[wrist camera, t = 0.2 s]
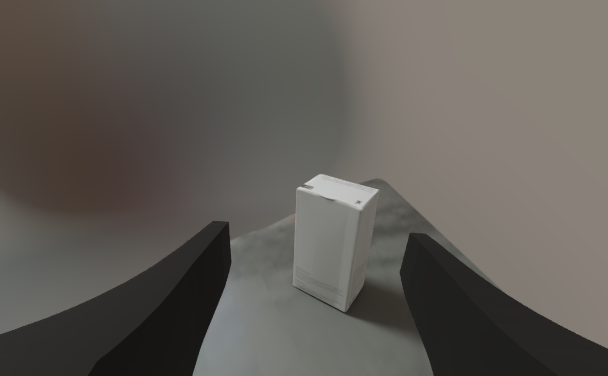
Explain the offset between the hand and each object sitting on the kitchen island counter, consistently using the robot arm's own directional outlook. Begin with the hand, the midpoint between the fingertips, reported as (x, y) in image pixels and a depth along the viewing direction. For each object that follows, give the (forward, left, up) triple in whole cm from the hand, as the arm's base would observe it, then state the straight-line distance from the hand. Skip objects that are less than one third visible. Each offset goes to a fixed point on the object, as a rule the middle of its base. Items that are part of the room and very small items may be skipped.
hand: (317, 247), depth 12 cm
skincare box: (+21, -4, -22) cm, 30 cm away
